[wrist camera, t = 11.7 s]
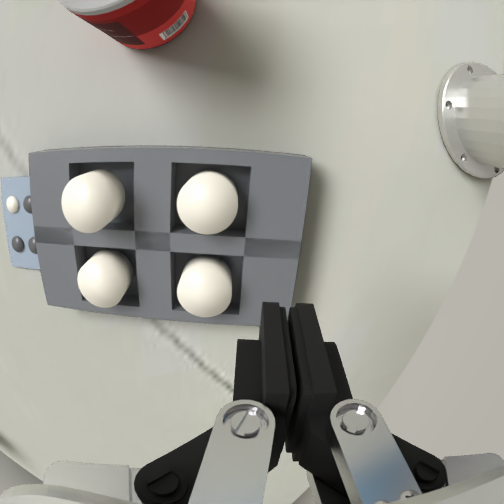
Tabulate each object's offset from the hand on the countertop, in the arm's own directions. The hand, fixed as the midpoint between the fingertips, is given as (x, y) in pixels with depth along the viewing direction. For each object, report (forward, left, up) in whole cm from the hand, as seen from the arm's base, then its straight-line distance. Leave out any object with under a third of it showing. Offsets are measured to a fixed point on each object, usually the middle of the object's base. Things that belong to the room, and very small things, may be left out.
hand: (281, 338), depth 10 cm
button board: (+12, +2, -18) cm, 22 cm away
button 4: (+4, +6, -16) cm, 18 cm away
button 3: (+4, -1, -16) cm, 17 cm away
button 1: (+13, -1, -15) cm, 20 cm away
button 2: (+13, +6, -16) cm, 22 cm away
